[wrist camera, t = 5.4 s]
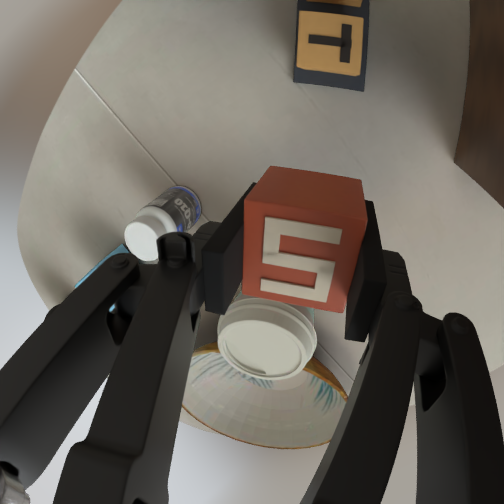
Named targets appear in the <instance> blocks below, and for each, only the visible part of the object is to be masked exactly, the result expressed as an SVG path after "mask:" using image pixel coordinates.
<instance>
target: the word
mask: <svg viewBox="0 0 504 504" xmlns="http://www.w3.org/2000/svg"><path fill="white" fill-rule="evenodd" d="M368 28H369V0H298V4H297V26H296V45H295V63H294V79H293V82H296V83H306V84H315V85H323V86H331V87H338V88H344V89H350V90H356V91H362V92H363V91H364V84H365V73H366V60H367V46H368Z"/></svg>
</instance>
